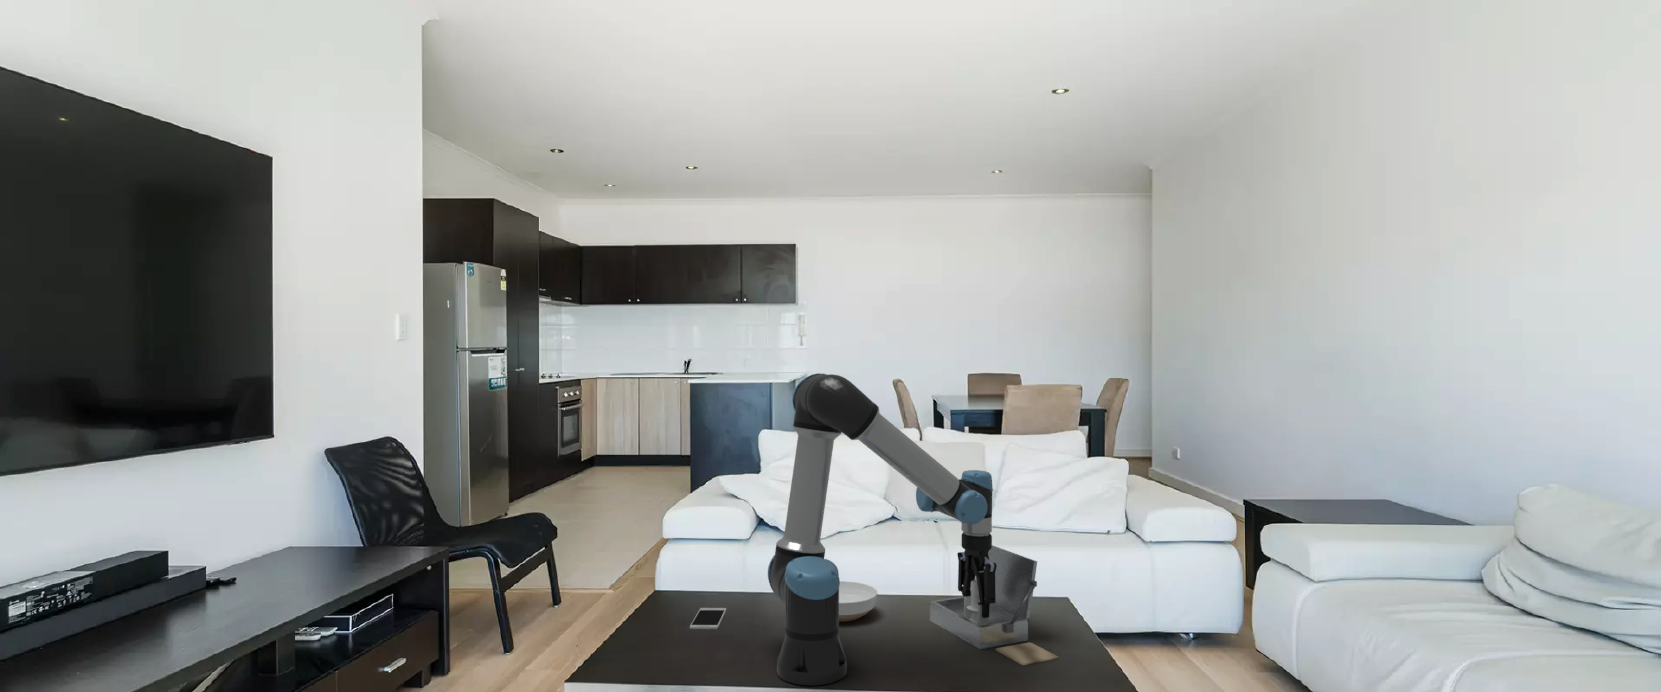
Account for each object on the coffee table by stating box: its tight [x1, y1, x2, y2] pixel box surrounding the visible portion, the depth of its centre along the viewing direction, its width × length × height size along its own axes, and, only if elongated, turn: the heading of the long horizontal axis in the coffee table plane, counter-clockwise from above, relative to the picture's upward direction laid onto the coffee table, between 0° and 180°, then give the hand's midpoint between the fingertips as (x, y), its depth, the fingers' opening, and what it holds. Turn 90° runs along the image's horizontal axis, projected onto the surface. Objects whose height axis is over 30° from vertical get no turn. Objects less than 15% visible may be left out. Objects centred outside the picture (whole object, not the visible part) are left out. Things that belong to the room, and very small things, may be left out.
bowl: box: [839, 580, 878, 623], centre depth 206 cm, size 20×20×6 cm
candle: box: [967, 579, 980, 624], centre depth 195 cm, size 5×5×12 cm
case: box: [929, 544, 1038, 650], centre depth 195 cm, size 17×23×19 cm
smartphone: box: [689, 607, 727, 630], centre depth 203 cm, size 7×16×1 cm, turn 179°
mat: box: [995, 641, 1059, 666], centre depth 178 cm, size 10×10×1 cm
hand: (975, 625), depth 194 cm, fingers closed on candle, 5 cm apart
